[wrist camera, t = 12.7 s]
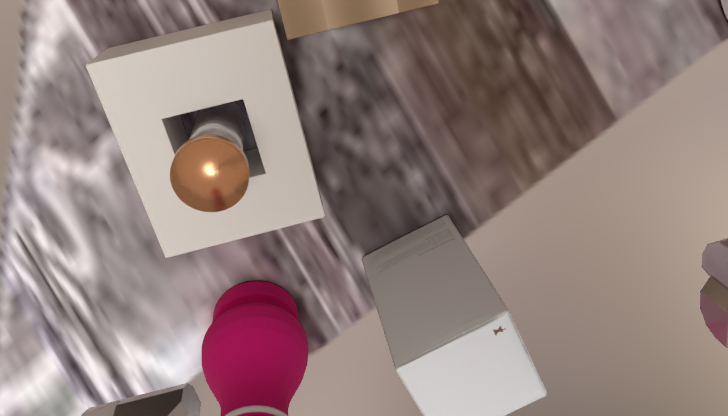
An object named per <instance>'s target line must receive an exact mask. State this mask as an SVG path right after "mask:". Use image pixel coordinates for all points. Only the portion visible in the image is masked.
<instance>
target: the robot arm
mask: <svg viewBox="0 0 728 416" xmlns="http://www.w3.org/2000/svg"><path fill="white" fill-rule="evenodd" d="M721 3H722V7H723V10H724V13H725V15H726V17H727V19H728V0H721ZM702 268H703V269H704V270H705V271H706V272H707V273H708V275H710V278H709V279H708V281H707V282H706V283H705V285H704V287H703V288H702V289H701V291H700V293H701V295H700V309H701V312H702V314H703V317H704V320H705V323H706V325H707V327H708V328H709V329H710V331H711V332H712V334H713V335H714V336H715V338H717V339H718V340H719V341H720V342H721V343H722V344H723V345H724V346H725V347H726V348H728V239H724V240H720V241H717V242H713V243H709V244H707V246H706V248H705V250H704V252H703V257H702ZM200 407H201V402H200V400H199V398H198V395H197V393H196V391H195V389H194V387H193V386H191V385H190V384H188V383H186V384H182V385H178V386H174V387H170V388H166V389H162V390H158V391H154V392H150V393H146V394H142V395H138V396H133V397H129V398H125V399H122V400H120V401H114V402H111V403H107V404H103V405H99V406H95V407H91V408H89V409H87V410H86V411H85V412H84V413H83V414H82V415H81V416H199V415H200Z"/></svg>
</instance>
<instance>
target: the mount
mask: <svg viewBox="0 0 728 416" xmlns="http://www.w3.org/2000/svg"><path fill="white" fill-rule="evenodd" d="M277 1H278V5H279V9H280V13H281V17H282V21H283V24H284V28H285V32H286V36H287V40H289V39H293V38H298V37H302V36H306V35H310V34H314V33H318V32H322V31H326V30H331V29H335V28H339V27H343V26H347V25H351V24H355V23H359V22H364V21H368V20H372V19H376V18H380V17H384V16H388V15H392V14H397V13H401V12H405V11H409V10H413V9H417V8H421V7H425V6H430V5H434V4H438V3H439V0H277Z"/></svg>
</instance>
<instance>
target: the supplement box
mask: <svg viewBox="0 0 728 416" xmlns="http://www.w3.org/2000/svg"><path fill="white" fill-rule="evenodd" d="M362 262H363V265H364V269H365V272H366V275H367V279H368V282H369V285H370V288H371V291H372V295H373V298H374V301H375V304H376V308H377V311H378V314H379V317H380V320H381V323H382V326H383V330H384V333H385V336H386V340H387V343H388V346H389V349H390V353H391V356H392V359H393V362H394V366H395V370H396V372H397V374H398V376H399V377H400V379H401V381H402V382H403V384H404V386H405V387H406V389H407V391H408V392H409V394H410V395H411V397H412V398H413V400H414V402H415V403H416V405H417V406H418V408H419V410H420V411H421V413H422V415H423V416H505V415H507V414H509V413H511V412H513V411H515V410H517V409H519V408H521V407H523V406H525V405H528V404H530V403H532V402H534V401H536V400H538V399H540V398H543V397H545V396H546V395H547V393H546V390H545V387H544V385H543V383H542V381H541V379H540V377H539V375H538V372H537V370H536V368H535V366H534V364H533V362H532V359H531V357H530V355H529V352H528V350H527V348H526V346H525V345H524V342H523V340H522V338H521V336H520V334H519V332H518V330H517V327H516V325H515V323H514V321H513V318H512V316H511V314H510V312H509V310H508V308H507V307H506V305H505V304H504V302H503V301H502V299H501V297H500V296H499V294H498V293H497V292H496V290H495V288H494V286H493V285H492V283H491V282H490V280H489V279H488V277H487V275H486V274H485V272H484V271H483V269H482V268H481V266H480V265H479V263H478V262H477V260H476V258H475V257H474V255H473V254H472V252H471V251H470V249H469V247H468V246H467V244H466V243H465V241H464V240H463V238H462V237H461V235H460V233H459V232H458V230H457V229H456V227H455V226H454V224H453V222H452V221H451V219H450V217H449V216H448V215H445V216H443V217H441V218H439V219H437V220H435V221H433V222H431V223H429V224H427V225H425V226H423V227H421V228H419V229H417V230H415V231H413V232H411V233H409V234H407V235H405V236H403V237H401V238H399V239H397V240H395V241H393V242H391V243H389V244H387V245H385V246H383V247H381V248H379V249H377V250H375V251H373V252H371V253H370V254H368V255H366V256H365V257H363V258H362Z"/></svg>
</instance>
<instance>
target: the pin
mask: <svg viewBox="0 0 728 416" xmlns="http://www.w3.org/2000/svg"><path fill="white" fill-rule="evenodd" d="M244 132H245V116H244V113H243V111H242V109H241V108H240V106H239V105H238V104H237V103H235V102H234V101H233V102H229V103H225V104H221V105H217V106H213V107H209V108H204V109H200V110H199V112H198V115H197V118H196V121H195V124H194V127H193V130H192V133H191V136H190V139H189V140H188V141H186V142H185V143H184V144H183V145H182V146H181V147H180V148H179V149H178V151H177V152H176V154H175V157H174V159H173V162H172V165H171V168H170V181H171V185H172V188H173V190H174V192H175V193H176V195H177V196H178V197H179V199H180V200H181V201H182V202H184V203H185V204H186V205H188V206H189V207H191V208H193V209H196V210H199V211H203V212H219V211H223V210H226V209H228V208H230V207H232V206H234V205H235V204H236V203H238V202H239V201H240V200H241V199H242V197H243V196H244V194H245V192H246V190H247V187H248V183H249V164H248V160H247V158H246V155H245V154H244V152H243V145H244Z"/></svg>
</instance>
